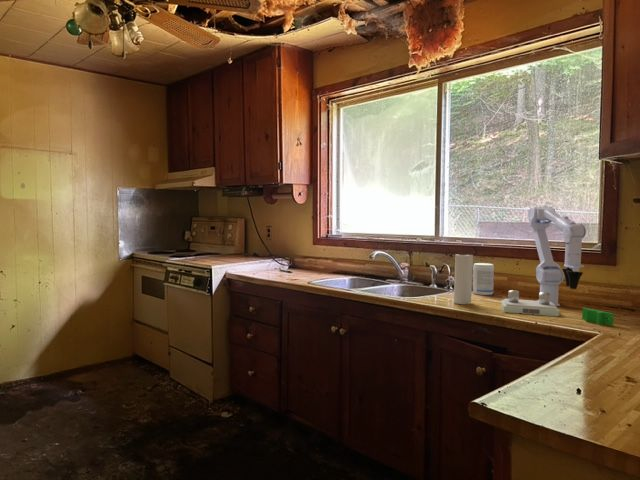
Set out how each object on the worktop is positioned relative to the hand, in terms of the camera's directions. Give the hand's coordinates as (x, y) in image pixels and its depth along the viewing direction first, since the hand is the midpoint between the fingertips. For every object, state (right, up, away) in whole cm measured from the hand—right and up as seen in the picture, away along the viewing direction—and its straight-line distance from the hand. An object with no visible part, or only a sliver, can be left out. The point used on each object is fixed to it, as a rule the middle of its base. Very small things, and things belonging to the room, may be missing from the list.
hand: (571, 287), depth 191 cm
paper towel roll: (-40, -9, +13) cm, 43 cm away
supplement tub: (-22, -7, +39) cm, 46 cm away
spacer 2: (-12, -7, -1) cm, 13 cm away
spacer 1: (-23, -6, +2) cm, 24 cm away
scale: (-17, -10, +1) cm, 19 cm away
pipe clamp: (-1, -11, -18) cm, 22 cm away
